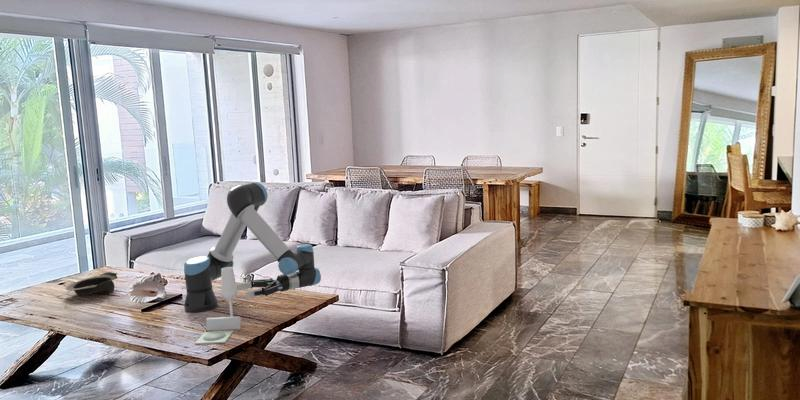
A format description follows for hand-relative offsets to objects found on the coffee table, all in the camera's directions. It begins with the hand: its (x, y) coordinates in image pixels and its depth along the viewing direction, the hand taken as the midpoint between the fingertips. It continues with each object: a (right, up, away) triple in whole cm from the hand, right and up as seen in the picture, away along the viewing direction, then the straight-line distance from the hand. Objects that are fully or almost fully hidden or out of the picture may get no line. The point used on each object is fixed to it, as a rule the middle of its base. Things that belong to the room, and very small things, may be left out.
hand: (241, 291), depth 266 cm
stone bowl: (-93, -10, +56) cm, 109 cm away
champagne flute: (-4, -13, 0) cm, 14 cm away
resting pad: (-6, -16, -19) cm, 26 cm away
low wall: (-5, -15, -9) cm, 18 cm away
